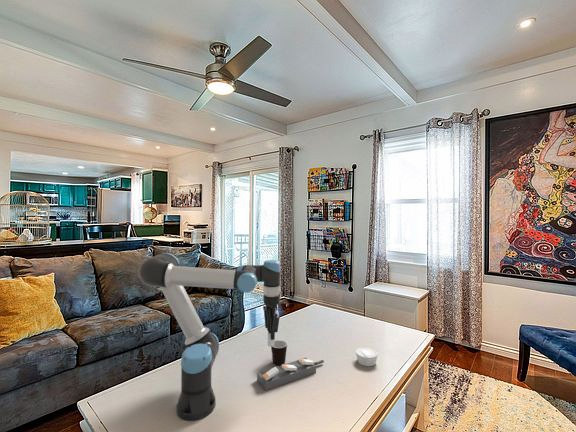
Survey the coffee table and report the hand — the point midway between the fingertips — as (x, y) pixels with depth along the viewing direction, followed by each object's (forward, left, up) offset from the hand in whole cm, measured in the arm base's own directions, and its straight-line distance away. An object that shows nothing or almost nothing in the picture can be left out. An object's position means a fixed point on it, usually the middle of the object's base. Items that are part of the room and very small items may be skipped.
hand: (271, 345), depth 131 cm
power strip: (+14, +2, -18) cm, 23 cm away
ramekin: (+54, -8, -19) cm, 57 cm away
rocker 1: (0, 0, -13) cm, 13 cm away
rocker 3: (+20, 0, -13) cm, 24 cm away
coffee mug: (+14, +16, -19) cm, 28 cm away
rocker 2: (+10, 0, -13) cm, 16 cm away
